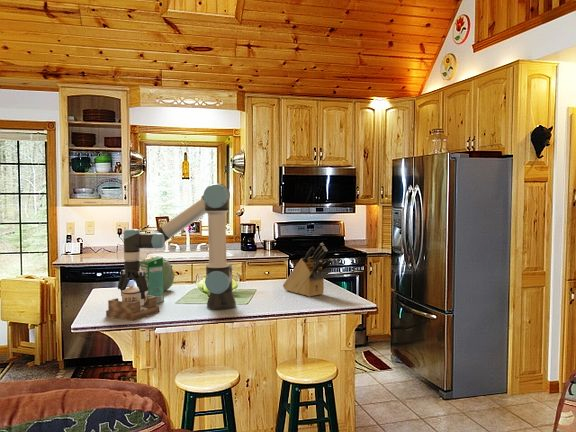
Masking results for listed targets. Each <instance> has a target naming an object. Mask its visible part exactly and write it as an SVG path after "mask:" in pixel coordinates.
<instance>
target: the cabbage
mask: <svg viewBox="0 0 576 432" xmlns="http://www.w3.org/2000/svg"><path fill="white" fill-rule="evenodd" d="M175 276H176V274H175V273H174V270H173V265H172V264H171V263H170V261H169V259H166V258H163V289H164V292H165V291H167V290H169V289H170V288H171V287H172V285H173V284H174V279H175Z"/></svg>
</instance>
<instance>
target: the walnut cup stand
mask: <svg viewBox="0 0 576 432" xmlns="http://www.w3.org/2000/svg"><path fill="white" fill-rule="evenodd" d="M145 299H146V296H145ZM145 299H144V301H145ZM107 301H108V302H107V303H108V304H107V305H108V309H107V310H106V311H105V317H106V318H111V317H113V319H118V318H120V319H119V320H125V319H126V320H127V321H136V320H139V319H141V317H142V318H144V316H145V317H148V316H150V315H154V314H158V313H159V312H160V305H158V303H157V296H149V295H147V300H146V302H145V303H144V305H142V306H141V308H140V301H136V302H132V303H130V302H122V300H119V298H111V299H109V300H107ZM147 315H148V316H147ZM138 318H139V319H138Z"/></svg>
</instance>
